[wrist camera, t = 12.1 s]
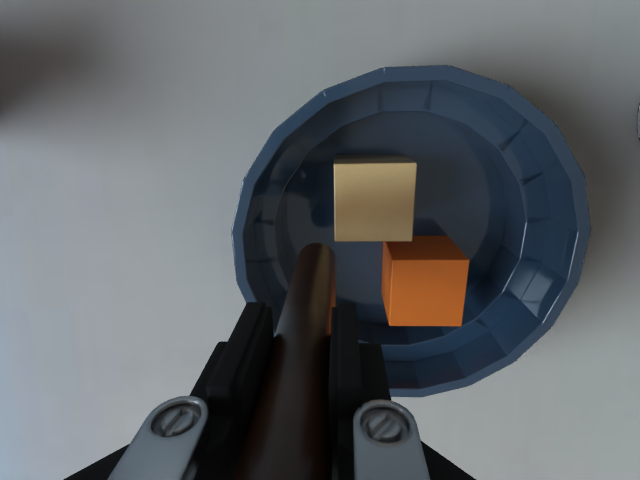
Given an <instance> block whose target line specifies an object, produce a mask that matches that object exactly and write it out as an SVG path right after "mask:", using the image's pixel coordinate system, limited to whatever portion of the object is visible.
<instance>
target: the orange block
mask: <svg viewBox="0 0 640 480" xmlns="http://www.w3.org/2000/svg"><path fill="white" fill-rule="evenodd" d="M468 269H469V259H468V258H467V257H466V255H465V254H464V253H463V252H462V251H461V250H460V249H459V248H458V246H457V245H456V244H455V243H454V242H453V241H452V240H451V239H450V238H449V236H413V237H412V241H383V258H382V286H381V294H382V298H383V302H384V306H385V310H386V315H387V319H388V323H389V326H462V319H463V310H464V302H465V294H466V285H467V277H468Z"/></svg>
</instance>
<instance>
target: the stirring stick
mask: <svg viewBox="0 0 640 480" xmlns="http://www.w3.org/2000/svg"><path fill="white" fill-rule="evenodd" d="M332 307H336V256H335V253H334V252H333V250H332V249H331V248H330V247H329V246H327V245H325V244H322V243H311V244H308V245H306V246H305V247H304V248H303V249H302V250H301V251H300V253H299V255H298V259H297V262H296V265H295V269H294V272H293V275H292V279H291V282H290V286H289V289H288V292H287V296H286V299H285V303H284V306H283V309H282V313H281V316H280V319H279V323H278V326H277V330H276V333H275V336H274V340H273V343H272V347H271V350H270V353H269V357H268V360H267V364H266V367H265V370H264V374H263V377H262V380H261V384H260V387H259V391H258V394H257V397H256V401H255V404H254V408H253V411H252V414H251V418H250V421H249V424H248V428H247V431H246V435H245V438H244V441H243V445H242V448H241V451H240V455H239V458H238V462H237V465H236V468H235V472H234V475H233V478H232V480H332V458H333V445H332V440H331V437H330V434H329V401H328V387H329V361H330V337H331V314H332Z"/></svg>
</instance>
